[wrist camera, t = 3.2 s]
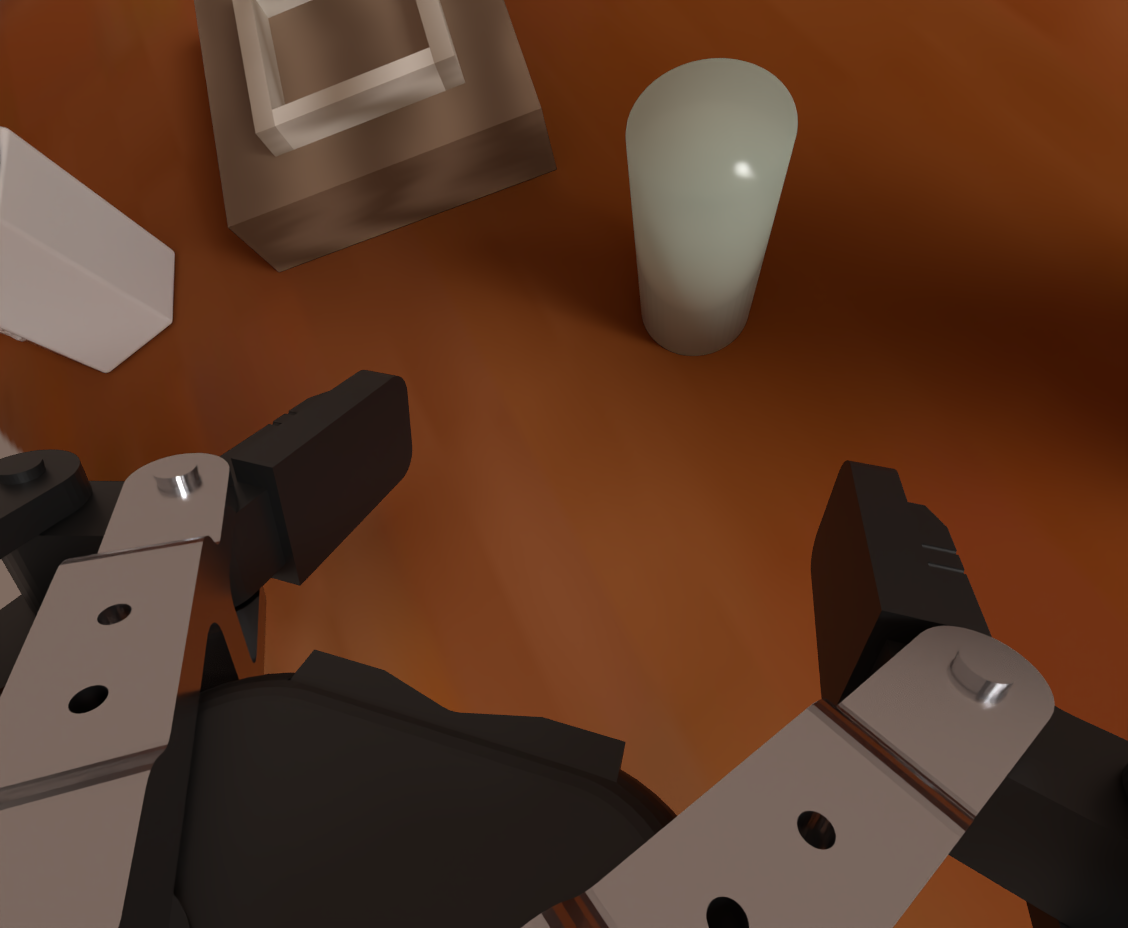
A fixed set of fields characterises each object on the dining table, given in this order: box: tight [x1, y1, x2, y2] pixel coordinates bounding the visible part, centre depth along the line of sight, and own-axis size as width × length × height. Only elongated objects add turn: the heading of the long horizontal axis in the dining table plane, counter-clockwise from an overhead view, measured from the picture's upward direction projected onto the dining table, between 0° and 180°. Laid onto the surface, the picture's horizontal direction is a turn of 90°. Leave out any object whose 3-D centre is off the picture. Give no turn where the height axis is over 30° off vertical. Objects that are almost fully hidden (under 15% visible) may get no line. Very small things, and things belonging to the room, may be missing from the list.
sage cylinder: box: [626, 58, 798, 356], centre depth 23 cm, size 5×5×11 cm
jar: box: [0, 126, 175, 373], centre depth 29 cm, size 9×8×12 cm
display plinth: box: [194, 0, 556, 272], centre depth 32 cm, size 16×16×6 cm
